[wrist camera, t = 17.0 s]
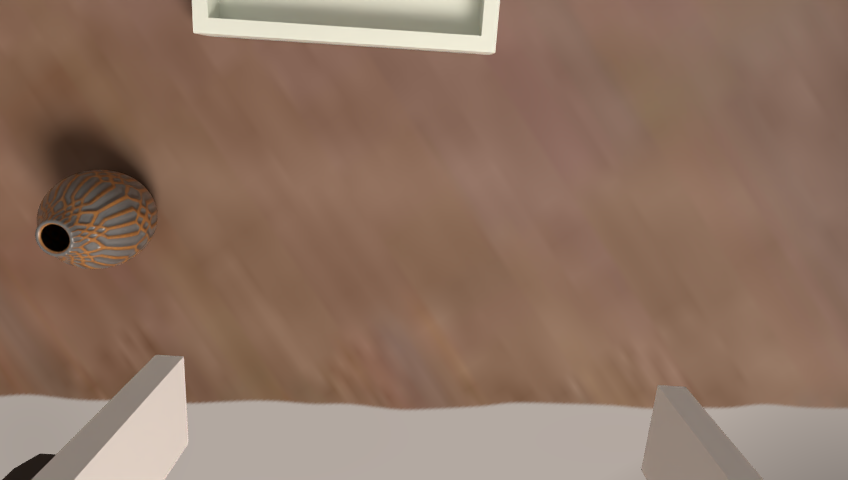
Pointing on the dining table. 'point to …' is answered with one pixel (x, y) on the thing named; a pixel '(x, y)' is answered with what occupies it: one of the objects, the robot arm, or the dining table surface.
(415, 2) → the tray
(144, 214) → the vase
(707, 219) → the dining table surface
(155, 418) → the robot arm
